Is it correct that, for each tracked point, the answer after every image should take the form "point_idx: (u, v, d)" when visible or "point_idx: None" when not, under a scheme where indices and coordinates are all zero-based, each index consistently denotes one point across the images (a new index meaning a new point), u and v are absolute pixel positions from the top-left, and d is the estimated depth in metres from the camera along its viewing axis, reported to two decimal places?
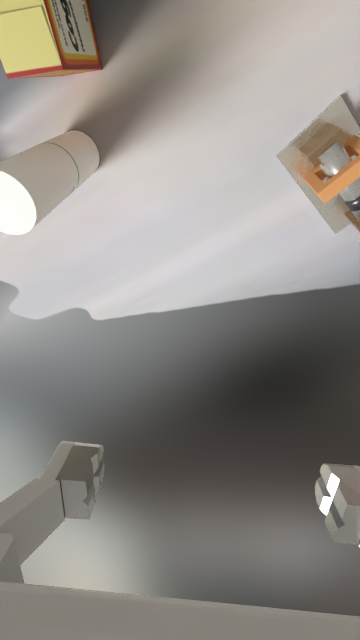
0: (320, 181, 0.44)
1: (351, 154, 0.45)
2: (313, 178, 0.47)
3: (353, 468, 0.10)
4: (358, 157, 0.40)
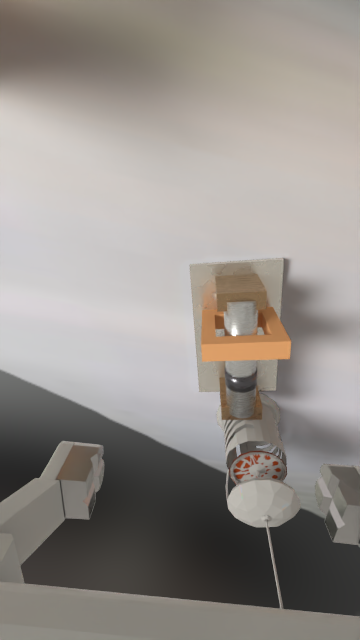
0: (213, 330, 0.31)
1: (259, 325, 0.35)
2: (210, 320, 0.34)
3: (353, 468, 0.10)
4: (265, 337, 0.29)
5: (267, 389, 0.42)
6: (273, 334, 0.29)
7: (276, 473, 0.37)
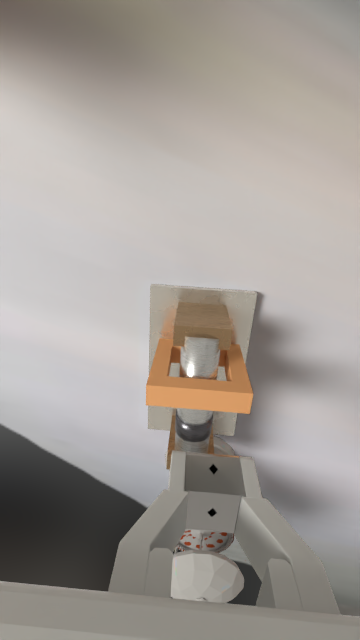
0: (166, 367, 0.26)
1: (222, 364, 0.31)
2: (165, 352, 0.29)
3: (237, 458, 0.10)
4: (224, 384, 0.24)
5: (224, 434, 0.37)
6: (233, 382, 0.25)
7: (221, 537, 0.32)
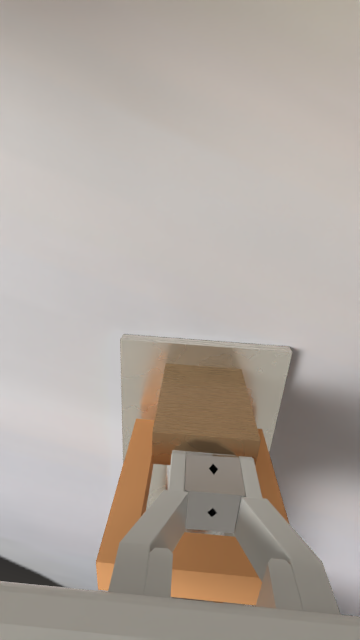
0: (140, 499, 0.15)
1: None
2: (141, 456, 0.17)
3: (237, 458, 0.10)
4: None
5: None
6: None
7: None
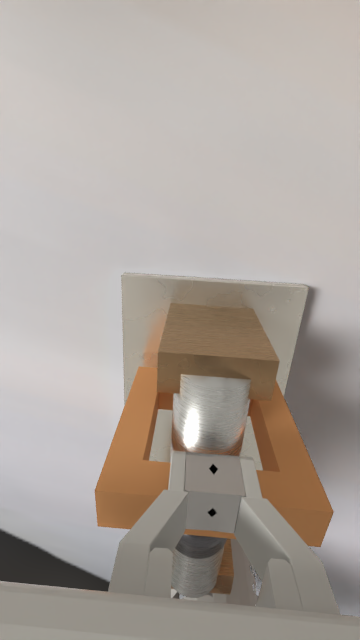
0: (144, 435, 0.13)
1: None
2: (145, 398, 0.16)
3: (237, 458, 0.10)
4: (264, 481, 0.11)
5: None
6: (283, 473, 0.12)
7: None
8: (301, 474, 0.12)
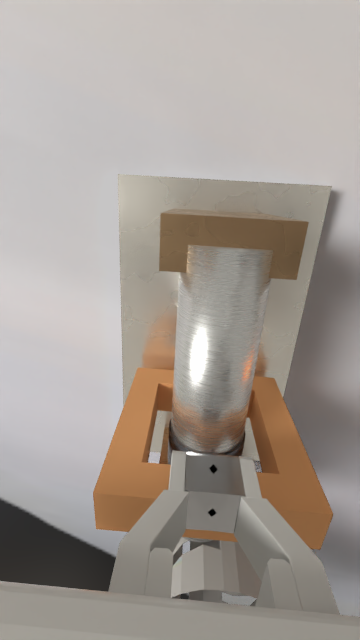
0: (142, 436, 0.13)
1: None
2: (144, 399, 0.16)
3: (237, 458, 0.10)
4: (264, 483, 0.11)
5: (253, 458, 0.22)
6: (283, 476, 0.12)
7: None
8: (301, 476, 0.12)
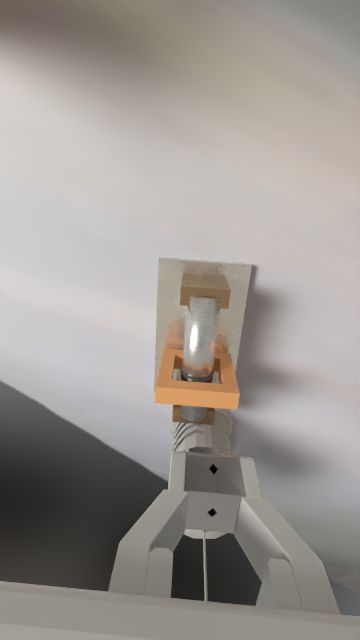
0: (170, 373, 0.33)
1: (216, 370, 0.37)
2: (169, 361, 0.35)
3: (237, 458, 0.10)
4: (217, 386, 0.31)
5: None
6: (225, 384, 0.31)
7: None
8: (231, 384, 0.31)
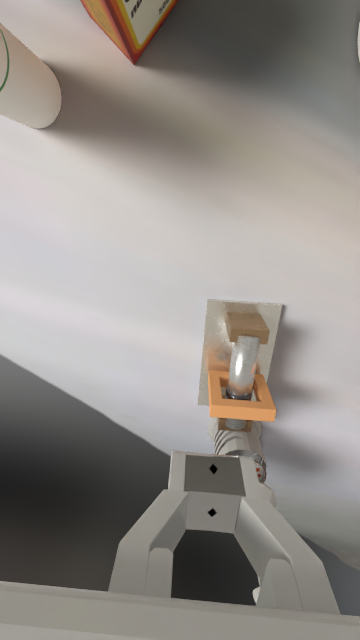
0: (219, 392, 0.41)
1: None
2: (216, 381, 0.44)
3: (237, 458, 0.10)
4: (258, 403, 0.40)
5: None
6: (263, 402, 0.40)
7: None
8: (268, 402, 0.40)
